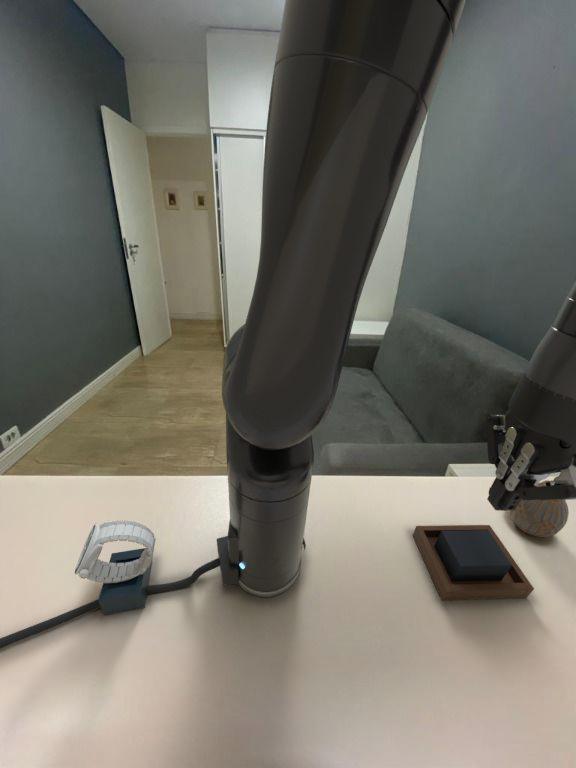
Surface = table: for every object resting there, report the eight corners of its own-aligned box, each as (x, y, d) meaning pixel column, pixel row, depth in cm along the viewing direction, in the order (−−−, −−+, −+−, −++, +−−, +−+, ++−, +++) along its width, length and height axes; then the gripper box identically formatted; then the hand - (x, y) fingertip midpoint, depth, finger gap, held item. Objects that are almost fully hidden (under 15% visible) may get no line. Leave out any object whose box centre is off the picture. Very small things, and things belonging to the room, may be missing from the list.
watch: (100, 570, 40) (76, 514, 34) (166, 559, 41) (153, 504, 36) (85, 619, 35) (55, 563, 30) (160, 604, 37) (144, 549, 31)
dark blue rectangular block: (451, 581, 41) (460, 566, 39) (433, 545, 45) (441, 530, 43) (501, 580, 41) (512, 565, 39) (479, 545, 45) (488, 530, 44)
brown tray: (441, 600, 39) (446, 591, 38) (412, 534, 47) (416, 525, 46) (527, 597, 40) (534, 588, 39) (484, 533, 48) (489, 524, 47)
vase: (563, 549, 46) (595, 510, 42) (513, 539, 47) (539, 500, 43) (540, 511, 52) (566, 473, 48) (496, 503, 53) (517, 465, 49)
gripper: (491, 350, 34) (442, 465, 43) (603, 422, 23) (505, 559, 31) (553, 353, 35) (493, 466, 43) (693, 424, 23) (573, 559, 32)
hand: (498, 505), depth 37 cm, fingers closed
